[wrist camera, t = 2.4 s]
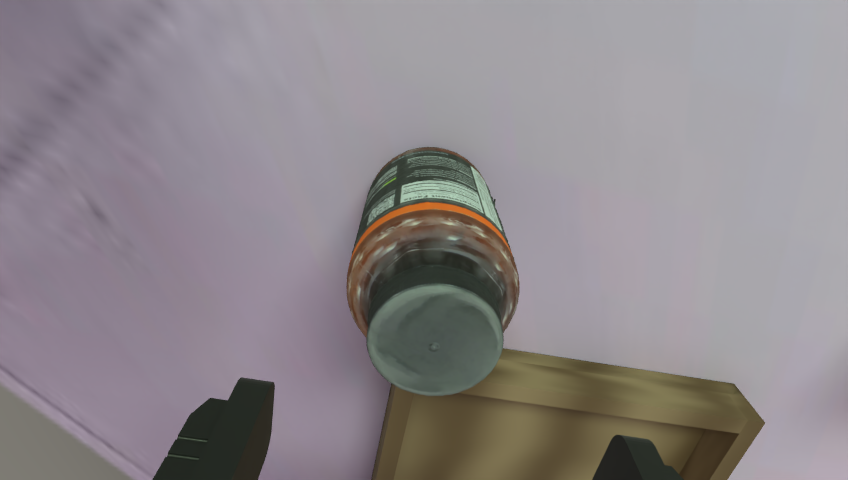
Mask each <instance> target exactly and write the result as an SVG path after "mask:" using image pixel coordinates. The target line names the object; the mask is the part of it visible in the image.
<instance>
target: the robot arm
mask: <svg viewBox="0 0 848 480" xmlns="http://www.w3.org/2000/svg"><path fill="white" fill-rule="evenodd" d="M274 389H275V385H274V382H268V381H262V380H255V379H248V378H240V379H239V380H238V382H237V384H236V386H235V388H234V390H233V392H232V394H231V396H230V398H229V400H228V401H227V400H221V399H214V398H210V399H208V400H207V401H206V402H205V403H204V404H202V405H201V406H200V407H199V408H197V409H196V410H195V411H194V412H193V413H191V414H190V416H189V417H188V419H187V421H186V423H185V424H184V426H183V428H182V430H181V431H180V433H179V435H178V438H177V440H175V442H174V443H173V445H172V447H171V449H170V450H169V452H168V456H167V457H165V459H164V461H163V462H162V464H161V466H160V468H159V469H158V471H157V473H156V475H155V476H154V478H153V480H258V477H259V474H260V472H261V469H262V466H263V463H264V460H265V457H266V454H267V450H268V446H269V442H270V437H271V429H272V416H273V403H274ZM593 480H684V479H683V478H682V477H681V476H680V475H679V474H678V473H677V472H676V470H675V469H674V468H673V467H672V466H667V465H664V463H663V461H662V459H661V457H660V455H659V453H658V451H657V449H656V447H655V445H654V444H653V442H652V441H650V440H649V439H644V438H637V437H631V436H624V435H615V436H614V437H613V438H612V439H611V441H610V443H609V445H608V448H607V450H606V452H605V454H604V456H603V458H602V460H601V462H600V464H599V466H598V468H597V470H596V472H595V474H594V477H593Z"/></svg>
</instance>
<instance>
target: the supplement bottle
mask: <svg viewBox="0 0 848 480" xmlns="http://www.w3.org/2000/svg"><path fill="white" fill-rule="evenodd" d="M518 297H519V277H518V272H517V268H516V265H515V262H514V257H513V255H512V253H511V249H510V246H509V244H508V240H507V238H506V236H505V232H504V230H503V226H502V224H501V220H500V218H499V216H498V213H497V210H496V208H495V199H494V202H493V198H492V197H491V195H490V190H489V188H488V186H487V185H486V183H485V181H484V179H483V177H482V176H481V174H480V173H479V171H478V170H477V169H476V168H475V166H474V165H472V164H471V163H470V162H469V161H468V160H467V159H465V158H464V157H462V156H461V155H459V154H457V153H455V152H452V151H449V150H446V149H442V148H436V147H424V148H416V149H412V150H408V151H406V152H404V153H402V154H400V155H398V156H396V157H395V158H393V159H392V160H391V161H389V162H388V163H387V164H386V165H385V166H384V167H383V168H382V169H381V170H380V172H379V173H378V174H377V176H376V178H375V180H374V181H373V183H372V185H371V187H370V190H369V193H368V196H367V200H366V204H365V207H364V211H363V214H362V219H361V222H360V226H359V230H358V234H357V238H356V241H355V245H354V249H353V251H352V257H351V260H350V264H349V269H348V274H347V299H348V304H349V308H350V311H351V314H352V316H353V319H354V321H355V323H356V324H357V326H358V328H359V329H360V330H361V332H362V333H363V334H364V336H365V337H366V338H367V349H368V353H369V356H370V358H371V361H372V363H373V365H374V367H375V368H376V369H377V371H378V372H379V373H380V374H381V375H382V376H383V377H384V378H385V379H386V380H387V381H389V382H390V383H392V384H393V385H395V386H396V387H398V388H400V389H402V390H406V391H408V392H411V393H416V394H419V395H426V396H444V395H452V394H456V393H459V392H462V391H464V390H467V389H469V388H471V387H473V386H475V385H476V384H477V383H479V382H480V381H482V380H483V379H484V378H485V377H487V376H488V374H489V373H490V372H491V371H492V370H493V368H494V367H495V366H496V364H497V362H498V360H499V358H500V355H501V352H502V349H503V333H504V331H505V329H506V328H507V327H508V325H509V323H510V321H511V319H512V317H513V315H514V313H515V310H516V306H517V304H518Z"/></svg>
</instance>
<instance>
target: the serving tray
mask: <svg viewBox="0 0 848 480" xmlns="http://www.w3.org/2000/svg"><path fill="white" fill-rule="evenodd" d="M764 424H765V422H764V421H763V419H762V418H761V417H760V416H759V414H758V413H757V412H756V411H755V409H754V408H753V407H752V406H751V404H750V403H749V402H748V401H747V399H746V398H745V397H744V396H743V394H742V393H741V392H740V391H739V389H738V388H737V387H736V386H735V384H731V383H725V382H718V381H712V380H705V379H699V378H692V377H686V376H679V375H672V374H666V373H659V372H653V371H646V370H640V369H633V368H627V367H620V366H614V365H607V364H601V363H594V362H588V361H581V360H575V359H568V358H562V357H555V356H549V355H542V354H536V353H529V352H523V351H516V350H510V349H502V352H501V355H500V358H499V360H498V362H497V364H496V366H495V367H494V368H493V370H492V371H491V372H490V373H489V374H488V376H487V377H485V378H484V379H483V380H482V381H480V382H479V383H477V384H476V385H475V386H473V387H471V388H469V389H467V390H464V391H462V392H459V393H456V394H452V395H444V396H426V395H419V394H416V393H411V392H408V391H406V390H402V389H400V388H398V387H396V386H395V385H393V384H392V383H391V388H390V393H389V398H388V403H387V407H386V412H385V417H384V422H383V427H382V431H381V436H380V441H379V446H378V450H377V455H376V460H375V465H374V470H373V474H372V479H371V480H593V477H594V474H595V472H596V470H597V468H598V466H599V464H600V462H601V460H602V458H603V456H604V454H605V452H606V450H607V448H608V445H609V443H610V441H611V439H612V438H613V437H614V436H615V435H624V436H631V437H637V438H644V439H649V440H650V441H652V442H653V444H654V445H655V447H656V449H657V451H658V453H659V455H660V457H661V459H662V461H663V463H664V465H667V466H672V467H673V468H674V469H675V470H676V472H677V473H678V474H679V475H680V476H681V477H682V478H683V479H684V480H727V479H728V478H729V476H730V475H731V473H732V472H733V470H734V469H735V467H736V466H737V464H738V463H739V461H740V460H741V458H742V457H743V455H744V454H745V452H746V451H747V449H748V448H749V446H750V445H751V443H752V442H753V440H754V439H755V437H756V436H757V434H758V433H759V432H760V430H761V429H762V427H763V426H764Z"/></svg>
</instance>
